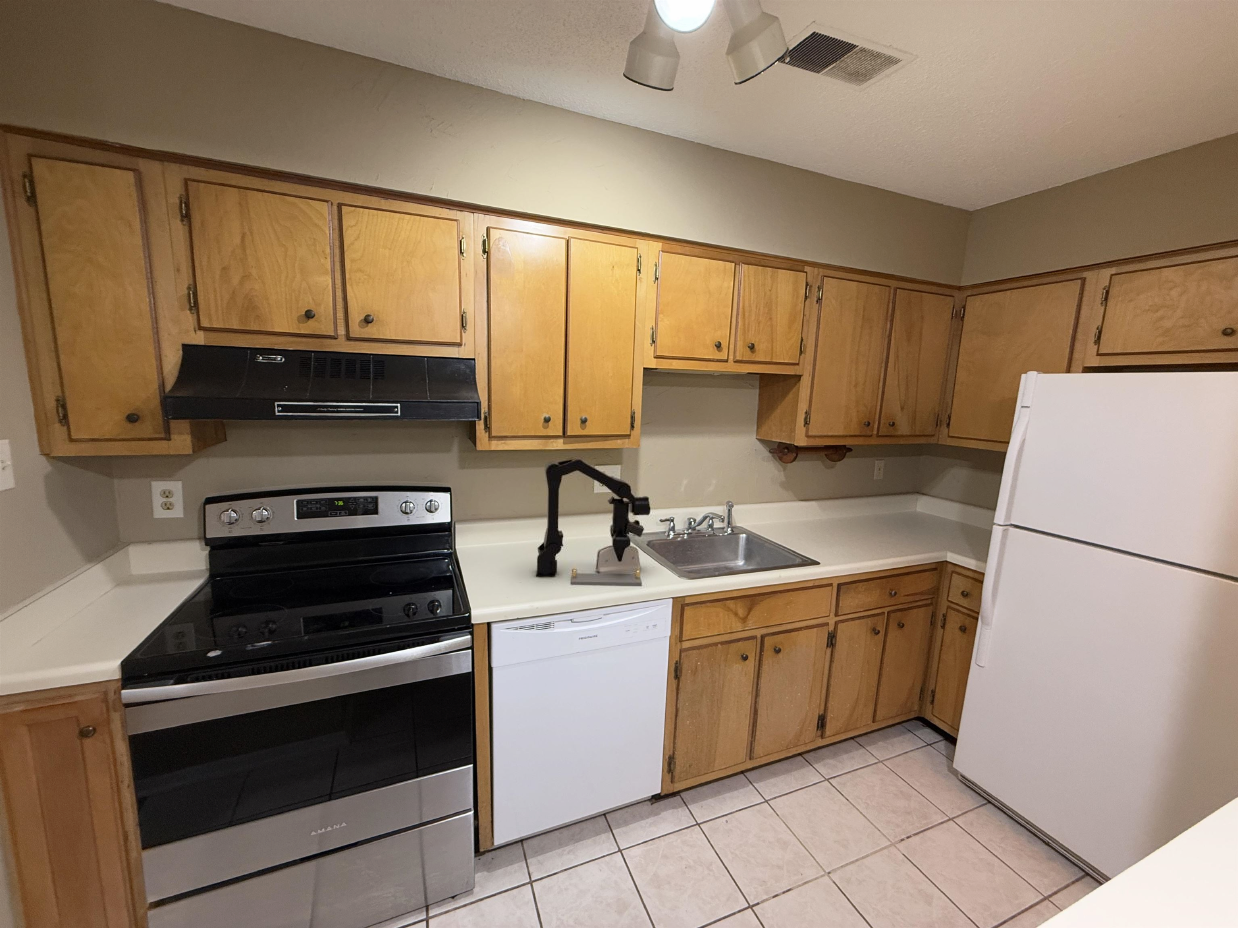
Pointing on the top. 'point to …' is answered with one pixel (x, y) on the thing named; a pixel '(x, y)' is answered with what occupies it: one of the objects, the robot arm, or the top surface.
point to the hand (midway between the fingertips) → (618, 557)
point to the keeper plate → (606, 579)
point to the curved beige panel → (610, 564)
